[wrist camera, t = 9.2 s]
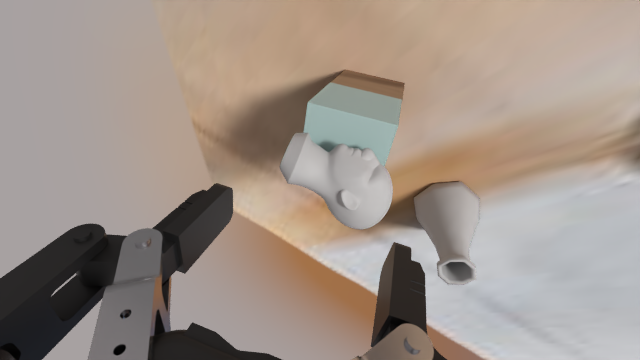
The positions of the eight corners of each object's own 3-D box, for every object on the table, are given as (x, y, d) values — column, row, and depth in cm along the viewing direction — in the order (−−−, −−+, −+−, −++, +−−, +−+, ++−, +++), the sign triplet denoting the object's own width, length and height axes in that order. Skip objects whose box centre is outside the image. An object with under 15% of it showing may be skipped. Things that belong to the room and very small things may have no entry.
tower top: (330, 82, 23) (307, 102, 18) (401, 99, 22) (398, 125, 18) (319, 146, 27) (297, 177, 22) (381, 163, 26) (373, 200, 21)
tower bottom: (345, 69, 28) (330, 82, 23) (404, 83, 27) (402, 99, 22) (334, 124, 32) (319, 146, 27) (386, 138, 31) (381, 163, 26)
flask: (403, 193, 33) (399, 252, 25) (466, 170, 30) (486, 231, 22) (428, 237, 36) (432, 305, 27) (490, 221, 32) (517, 293, 24)
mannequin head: (405, 173, 20) (359, 222, 22) (318, 103, 19) (276, 159, 21) (422, 194, 16) (364, 253, 18) (312, 107, 15) (260, 177, 17)
